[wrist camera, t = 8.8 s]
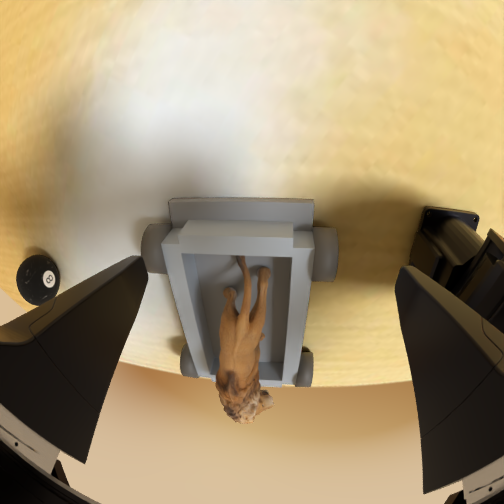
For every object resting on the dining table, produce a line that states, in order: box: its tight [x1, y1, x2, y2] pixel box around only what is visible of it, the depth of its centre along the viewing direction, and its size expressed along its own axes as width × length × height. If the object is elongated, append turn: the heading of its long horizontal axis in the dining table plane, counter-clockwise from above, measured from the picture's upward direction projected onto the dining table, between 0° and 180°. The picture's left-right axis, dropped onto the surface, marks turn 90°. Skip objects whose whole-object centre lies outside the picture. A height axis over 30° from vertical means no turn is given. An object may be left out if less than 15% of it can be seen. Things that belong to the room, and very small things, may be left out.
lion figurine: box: [216, 255, 274, 424], centre depth 22 cm, size 15×5×9 cm, turn 6°
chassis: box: [141, 198, 339, 387], centre depth 24 cm, size 14×22×4 cm, turn 2°
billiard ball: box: [16, 255, 60, 306], centre depth 25 cm, size 6×6×6 cm
